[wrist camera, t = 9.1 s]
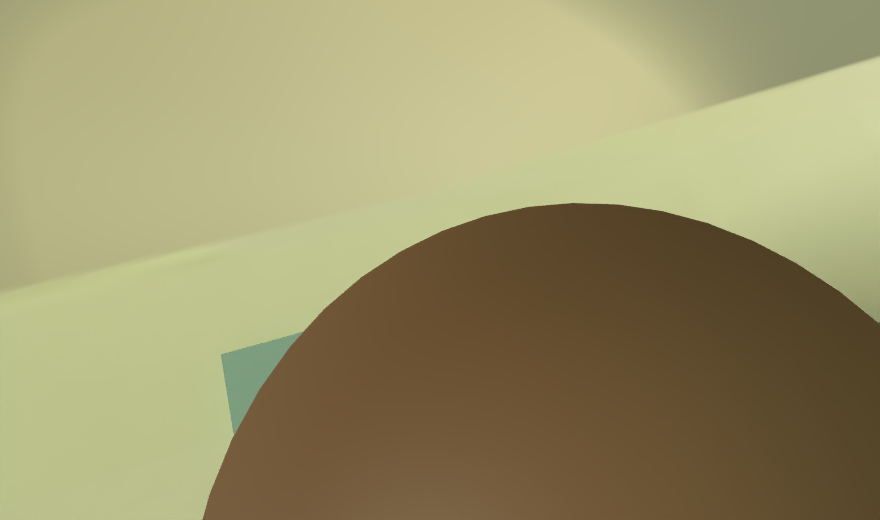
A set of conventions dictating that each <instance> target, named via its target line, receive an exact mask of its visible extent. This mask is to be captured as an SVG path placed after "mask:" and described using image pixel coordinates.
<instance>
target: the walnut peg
mask: <svg viewBox="0 0 880 520" xmlns="http://www.w3.org/2000/svg"><path fill="white" fill-rule="evenodd" d="M203 520H880V324H879V323H877V322H876V321H875V320H874V319H873V318H871V317H870V316H869V315H868V314H866V313H865V312H864V311H863V310H861V309H860V308H859V307H858V306H856V305H855V304H854V303H853V302H851V301H850V300H849V299H848V298H847V297H845V296H844V295H843V294H842V293H840V292H839V291H838V290H836V289H835V288H833V287H832V286H830V285H829V284H827V283H825V282H824V281H822V280H821V279H819V278H818V277H816V276H815V275H813V274H812V273H810V272H809V271H807V270H806V269H804V268H803V267H801V266H799V265H798V264H796V263H795V262H793V261H791V260H789V259H787V258H785V257H783V256H781V255H779V254H777V253H775V252H773V251H771V250H769V249H767V248H766V247H764V246H762V245H760V244H758V243H756V242H754V241H752V240H749V239H747V238H744V237H742V236H739V235H736V234H734V233H731V232H729V231H726V230H724V229H721V228H718V227H716V226H713V225H711V224H708V223H705V222H701V221H697V220H693V219H690V218H686V217H682V216H678V215H675V214H671V213H667V212H663V211H657V210H651V209H644V208H637V207H630V206H624V205H615V204H583V203H569V204H557V205H546V206H535V207H526V208H522V209H517V210H512V211H507V212H503V213H498V214H493V215H489V216H484V217H481V218H478V219H476V220H473V221H470V222H467V223H464V224H461V225H458V226H455V227H452V228H450V229H447V230H444V231H441V232H439V233H437V234H435V235H433V236H431V237H429V238H427V239H425V240H423V241H421V242H419V243H417V244H415V245H413V246H411V247H409V248H407V249H405V250H403V251H401V252H399V253H398V254H396V255H395V256H393V257H392V258H390V259H389V260H387V261H386V262H384V263H383V264H381V265H379V266H378V267H376V268H375V269H373V270H372V271H370V272H369V273H367V274H366V275H364V276H363V277H361V278H360V279H359V280H358V281H357V282H356V283H354V284H353V285H352V286H351V287H350V288H348V289H347V290H346V291H345V292H344V293H343V294H341V295H340V296H339V297H338V298H337V299H336V300H334V301H333V302H332V303H331V304H330V305H329V306H327V307H326V308H325V309H324V310H323V311H322V312H321V313H320V314H319V316H318V317H317V318H316V319H315V320H314V321H313V322H312V323H311V324H310V325H309V326H308V328H307V329H306V330H305V331H304V332H303V333H302V334H301V335H300V336H299V337H298V338H297V340H296V341H295V342H294V343H293V344H292V345H291V346H290V347H289V349H288V350H287V352H286V353H285V354H284V356H283V357H282V359H281V360H280V361H279V363H278V364H277V366H276V367H275V368H274V370H273V371H272V373H271V374H270V375H269V377H268V378H267V380H266V381H265V382H264V384H263V385H262V387H261V388H260V389H259V391H258V393H257V395H256V397H255V398H254V400H253V402H252V404H251V406H250V407H249V409H248V411H247V413H246V415H245V417H244V418H243V420H242V422H241V424H240V426H239V427H238V429H237V431H236V433H235V435H234V437H233V438H232V441H231V443H230V446H229V448H228V451H227V453H226V455H225V458H224V460H223V463H222V465H221V468H220V470H219V473H218V475H217V478H216V480H215V483H214V485H213V487H212V490H211V492H210V495H209V499H208V502H207V506H206V510H205V513H204V517H203Z"/></svg>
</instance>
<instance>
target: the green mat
mask: <svg viewBox="0 0 880 520" xmlns="http://www.w3.org/2000/svg"><path fill="white" fill-rule="evenodd" d="M302 333H303V332H302ZM302 333H298V334H294V335H291V336H287V337H283V338H280V339H276V340H272V341H269V342H265V343H261V344H258V345H254V346H250V347H247V348H243V349H240V350H236V351H232V352H229V353H225V354H221V358H222V364H223V370H224V377H225V383H226V389H227V395H228V401H229V408H230V414H231V420H232V426H233V432H234V435H235V433H236V431H237V429H238V427H239V426H240V424H241V422H242V420H243V418H244V417H245V415H246V413H247V411H248V409H249V407H250V406H251V404H252V402H253V400H254V398H255V397H256V395H257V393H258V391H259V389H260V388H261V387H262V385H263V384H264V382H265V381H266V380H267V378H268V377H269V375H270V374H271V373H272V371H273V370H274V368H275V367H276V366H277V364H278V363H279V361H280V360H281V359H282V357H283V356H284V354H285V353H286V352H287V350H288V349H289V347H290V346H291V345H292V344H293V343H294V342H295V341H296V340H297V338H298V337H299V336H300V335H301V334H302Z"/></svg>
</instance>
